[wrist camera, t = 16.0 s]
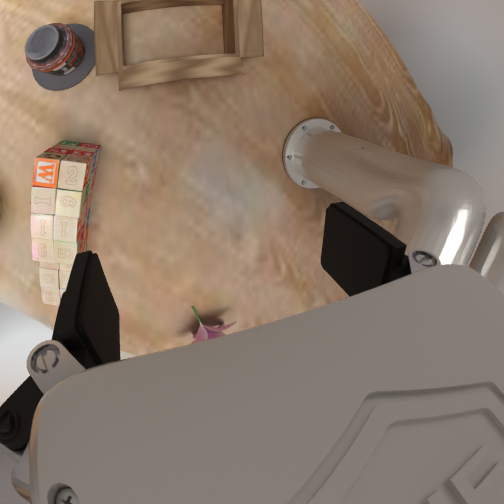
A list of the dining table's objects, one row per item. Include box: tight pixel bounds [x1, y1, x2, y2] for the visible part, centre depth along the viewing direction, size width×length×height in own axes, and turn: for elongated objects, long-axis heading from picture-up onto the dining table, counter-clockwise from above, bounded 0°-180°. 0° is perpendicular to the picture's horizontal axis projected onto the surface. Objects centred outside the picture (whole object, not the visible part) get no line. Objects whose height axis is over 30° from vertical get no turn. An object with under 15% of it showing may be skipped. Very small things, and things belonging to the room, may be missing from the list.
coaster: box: [32, 24, 95, 91], centre depth 25 cm, size 10×10×1 cm
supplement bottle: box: [25, 23, 85, 76], centre depth 20 cm, size 6×6×11 cm
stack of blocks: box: [30, 141, 101, 305], centre depth 32 cm, size 21×6×12 cm, turn 159°
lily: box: [191, 306, 237, 344], centre depth 53 cm, size 12×12×10 cm
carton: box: [94, 0, 264, 91], centre depth 27 cm, size 20×15×7 cm
